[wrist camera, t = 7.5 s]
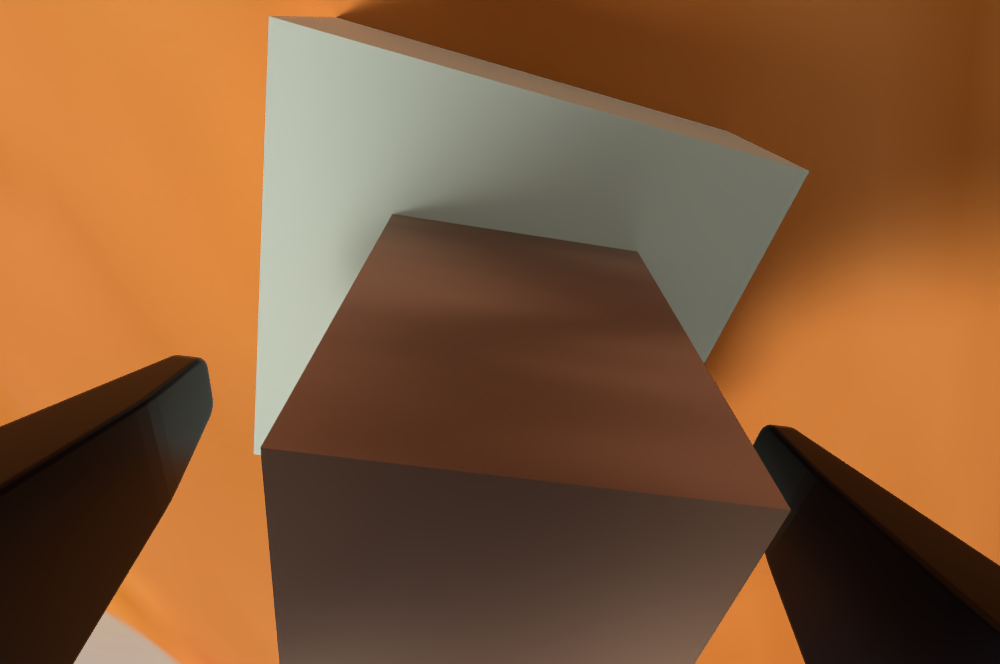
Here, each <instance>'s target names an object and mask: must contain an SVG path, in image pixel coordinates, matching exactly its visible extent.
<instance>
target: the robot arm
mask: <svg viewBox="0 0 1000 664" xmlns="http://www.w3.org/2000/svg"><path fill="white" fill-rule="evenodd" d="M212 408H213V397H212V391H211V385H210V379H209V373H208V367H207V364H206V362H205V361H204V360H203V359H201V358H198V357H190V356H181V355H175V356H171V357H169V358H166V359H164V360H161V361H159V362H157V363H154V364H152V365H149V366H147V367H144V368H142V369H140V370H137V371H135V372H132V373H130V374H127V375H125V376H122V377H120V378H118V379H115V380H113V381H110V382H108V383H105V384H103V385H101V386H98V387H96V388H93V389H91V390H88V391H86V392H84V393H81V394H79V395H76V396H74V397H71V398H69V399H66V400H64V401H62V402H59V403H57V404H54V405H52V406H49V407H47V408H45V409H42V410H40V411H37V412H35V413H32V414H30V415H28V416H25V417H23V418H20V419H18V420H15V421H13V422H11V423H8V424H6V425H3V426H1V427H0V664H73V663H74V662H75V660H76V658H77V657H78V655H79V653H80V652H81V650H82V648H83V647H84V645H85V643H86V642H87V640H88V638H89V637H90V635H91V633H92V632H93V630H94V628H95V627H96V625H97V623H98V622H99V620H100V619H101V617H102V615H103V614H104V612H105V610H106V609H107V607H108V605H109V604H110V602H111V600H112V599H113V597H114V595H115V594H116V592H117V590H118V589H119V587H120V585H121V584H122V582H123V580H124V579H125V577H126V575H127V574H128V572H129V570H130V569H131V567H132V565H133V564H134V562H135V560H136V559H137V557H138V556H139V554H140V552H141V551H142V549H143V547H144V546H145V544H146V542H147V541H148V539H149V537H150V536H151V534H152V532H153V531H154V529H155V527H156V526H157V524H158V522H159V521H160V519H161V517H162V516H163V514H164V512H165V510H166V509H167V507H168V505H169V503H170V502H171V500H172V498H173V496H174V494H175V492H176V490H177V488H178V486H179V483H180V481H181V479H182V477H183V475H184V472H185V470H186V468H187V466H188V464H189V462H190V459H191V457H192V455H193V453H194V451H195V448H196V446H197V444H198V442H199V440H200V437H201V435H202V433H203V431H204V429H205V427H206V424H207V422H208V420H209V418H210V415H211V412H212ZM753 447H754V449H755V450H756V452H757V454H758V455H759V457H760V459H761V460H762V462H763V464H764V465H765V467H766V469H767V470H768V472H769V474H770V475H771V477H772V479H773V481H774V482H775V484H776V486H777V487H778V489H779V491H780V492H781V494H782V496H783V497H784V499H785V501H786V502H787V504H788V506H789V507H790V509H791V511H790V513H789V514H788V516H787V517H786V519H785V521H784V522H783V524H782V525H781V527H780V529H779V530H778V532H777V533H776V535H775V536H774V538H773V540H772V541H771V543H770V544H769V546H768V548H767V549H766V551H765V555H766V558H767V561H768V564H769V567H770V570H771V573H772V576H773V579H774V581H775V584H776V587H777V589H778V592H779V595H780V597H781V600H782V603H783V605H784V608H785V611H786V613H787V616H788V619H789V622H790V624H791V627H792V630H793V632H794V635H795V638H796V640H797V643H798V646H799V648H800V651H801V654H802V656H803V659H804V662H805V664H1000V566H999V565H998V564H996V563H995V562H993V561H992V560H990V559H989V558H987V557H986V556H984V555H983V554H981V553H980V552H978V551H977V550H975V549H974V548H972V547H971V546H969V545H968V544H966V543H965V542H963V541H962V540H960V539H959V538H957V537H956V536H954V535H953V534H951V533H950V532H948V531H947V530H945V529H944V528H942V527H941V526H939V525H938V524H936V523H935V522H933V521H932V520H930V519H929V518H927V517H926V516H924V515H923V514H921V513H920V512H918V511H917V510H915V509H914V508H912V507H911V506H909V505H908V504H906V503H905V502H903V501H902V500H900V499H899V498H897V497H896V496H894V495H893V494H891V493H890V492H888V491H887V490H885V489H884V488H882V487H881V486H879V485H878V484H876V483H875V482H873V481H872V480H870V479H869V478H867V477H866V476H864V475H863V474H861V473H860V472H858V471H857V470H855V469H854V468H852V467H851V466H849V465H848V464H846V463H845V462H843V461H842V460H840V459H839V458H837V457H836V456H834V455H833V454H831V453H830V452H828V451H827V450H825V449H824V448H822V447H821V446H819V445H818V444H816V443H815V442H813V441H812V440H810V439H809V438H807V437H806V436H804V435H803V434H801V433H800V432H798V431H797V430H795V429H794V428H791V427H786V426H777V425H767V426H765V427H764V428H762V430H761V431H760V433H759V435H758V437H757V439H756V441H755V443H754V445H753Z"/></svg>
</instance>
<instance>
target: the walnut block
mask: <svg viewBox="0 0 1000 664" xmlns="http://www.w3.org/2000/svg"><path fill="white" fill-rule="evenodd" d="M260 449H261V460H262V471H263V482H264V494H265V505H266V516H267V527H268V539H269V550H270V561H271V572H272V584H273V595H274V606H275V617H276V629H277V640H278V651H279V662H280V664H695V662H696V660H697V659H698V657H699V656H700V654H701V653H702V651H703V649H704V648H705V646H706V645H707V643H708V641H709V640H710V638H711V637H712V635H713V633H714V632H715V630H716V629H717V627H718V625H719V624H720V622H721V621H722V619H723V618H724V616H725V614H726V613H727V611H728V610H729V608H730V606H731V605H732V603H733V602H734V600H735V598H736V597H737V595H738V594H739V592H740V591H741V589H742V587H743V586H744V584H745V583H746V581H747V579H748V578H749V576H750V575H751V573H752V571H753V570H754V568H755V567H756V565H757V563H758V562H759V560H760V559H761V557H762V556H763V554H764V552H765V551H766V549H767V548H768V546H769V544H770V543H771V541H772V540H773V538H774V536H775V535H776V533H777V532H778V530H779V529H780V527H781V525H782V524H783V522H784V521H785V519H786V517H787V516H788V514H789V513H790V511H791V509H790V507H789V506H788V504H787V502H786V501H785V499H784V497H783V496H782V494H781V492H780V491H779V489H778V487H777V486H776V484H775V482H774V481H773V479H772V477H771V475H770V474H769V472H768V470H767V469H766V467H765V465H764V464H763V462H762V460H761V459H760V457H759V455H758V454H757V452H756V450H755V449H754V447H753V445H752V443H751V442H750V440H749V438H748V437H747V435H746V433H745V432H744V430H743V428H742V427H741V425H740V423H739V422H738V420H737V418H736V417H735V415H734V413H733V411H732V410H731V408H730V406H729V405H728V403H727V401H726V400H725V398H724V396H723V395H722V393H721V391H720V390H719V388H718V386H717V385H716V383H715V381H714V379H713V378H712V376H711V374H710V373H709V371H708V369H707V368H706V366H705V364H704V363H703V361H702V359H701V358H700V356H699V354H698V352H697V351H696V349H695V347H694V346H693V344H692V342H691V341H690V339H689V337H688V336H687V334H686V332H685V331H684V329H683V327H682V326H681V324H680V322H679V320H678V319H677V317H676V315H675V314H674V312H673V310H672V309H671V307H670V305H669V304H668V302H667V300H666V299H665V297H664V295H663V294H662V292H661V290H660V288H659V287H658V285H657V283H656V282H655V280H654V278H653V277H652V275H651V273H650V272H649V270H648V268H647V267H646V265H645V263H644V262H643V260H642V258H641V256H640V255H639V253H638V252H637V251H631V250H624V249H618V248H611V247H605V246H598V245H592V244H585V243H579V242H572V241H566V240H559V239H553V238H546V237H540V236H533V235H527V234H520V233H514V232H507V231H501V230H494V229H488V228H481V227H474V226H468V225H461V224H455V223H448V222H442V221H435V220H429V219H422V218H416V217H409V216H403V215H396V214H392V215H391V217H390V219H389V221H388V222H387V224H386V226H385V228H384V230H383V231H382V233H381V235H380V237H379V238H378V240H377V242H376V244H375V245H374V247H373V249H372V251H371V253H370V254H369V256H368V258H367V260H366V261H365V263H364V265H363V267H362V269H361V270H360V272H359V274H358V276H357V277H356V279H355V281H354V283H353V284H352V286H351V288H350V290H349V292H348V293H347V295H346V297H345V299H344V300H343V302H342V304H341V306H340V307H339V309H338V311H337V313H336V315H335V316H334V318H333V320H332V322H331V323H330V325H329V327H328V329H327V331H326V332H325V334H324V336H323V338H322V339H321V341H320V343H319V345H318V346H317V348H316V350H315V352H314V354H313V355H312V357H311V359H310V361H309V362H308V364H307V366H306V368H305V370H304V371H303V373H302V375H301V377H300V378H299V380H298V382H297V384H296V385H295V387H294V389H293V391H292V393H291V394H290V396H289V398H288V400H287V401H286V403H285V405H284V407H283V408H282V410H281V412H280V414H279V416H278V417H277V419H276V421H275V423H274V424H273V426H272V428H271V430H270V432H269V433H268V435H267V437H266V439H265V440H264V442H263V444H262V446H261V447H260Z"/></svg>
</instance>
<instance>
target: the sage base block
mask: <svg viewBox="0 0 1000 664" xmlns="http://www.w3.org/2000/svg"><path fill="white" fill-rule="evenodd" d="M808 173H809V170H807V169H805V168H802V167H800V166H798V165H796V164H794V163H792V162H790V161H788V160H786V159H784V158H782V157H780V156H778V155H776V154H774V153H772V152H770V151H768V150H765V149H763V148H761V147H759V146H757V145H755V144H753V143H751V142H749V141H747V140H745V139H743V138H741V137H739V136H737V135H735V134H733V133H731V132H728V131H726V130H722V129H719V128H715V127H712V126H709V125H705V124H702V123H698V122H695V121H691V120H688V119H685V118H681V117H678V116H674V115H671V114H667V113H664V112H660V111H657V110H654V109H650V108H647V107H643V106H640V105H636V104H633V103H630V102H626V101H623V100H619V99H616V98H612V97H609V96H605V95H602V94H599V93H595V92H592V91H588V90H585V89H581V88H578V87H574V86H571V85H568V84H564V83H561V82H557V81H554V80H550V79H547V78H544V77H540V76H537V75H533V74H530V73H526V72H523V71H519V70H516V69H513V68H509V67H506V66H502V65H499V64H495V63H492V62H489V61H485V60H482V59H478V58H475V57H471V56H468V55H464V54H461V53H458V52H454V51H451V50H447V49H444V48H440V47H437V46H433V45H430V44H427V43H423V42H420V41H416V40H413V39H409V38H406V37H403V36H399V35H396V34H392V33H389V32H385V31H382V30H378V29H375V28H372V27H368V26H365V25H361V24H358V23H354V22H351V21H348V20H344V19H341V18H337V17H288V16H269V29H268V58H267V87H266V115H265V144H264V173H263V202H262V230H261V259H260V288H259V317H258V346H257V374H256V403H255V432H254V454H257V455H261V449H260V447H261V446H262V444H263V442H264V440H265V439H266V437H267V435H268V433H269V432H270V430H271V428H272V426H273V424H274V423H275V421H276V419H277V417H278V416H279V414H280V412H281V410H282V408H283V407H284V405H285V403H286V401H287V400H288V398H289V396H290V394H291V393H292V391H293V389H294V387H295V385H296V384H297V382H298V380H299V378H300V377H301V375H302V373H303V371H304V370H305V368H306V366H307V364H308V362H309V361H310V359H311V357H312V355H313V354H314V352H315V350H316V348H317V346H318V345H319V343H320V341H321V339H322V338H323V336H324V334H325V332H326V331H327V329H328V327H329V325H330V323H331V322H332V320H333V318H334V316H335V315H336V313H337V311H338V309H339V307H340V306H341V304H342V302H343V300H344V299H345V297H346V295H347V293H348V292H349V290H350V288H351V286H352V284H353V283H354V281H355V279H356V277H357V276H358V274H359V272H360V270H361V269H362V267H363V265H364V263H365V261H366V260H367V258H368V256H369V254H370V253H371V251H372V249H373V247H374V245H375V244H376V242H377V240H378V238H379V237H380V235H381V233H382V231H383V230H384V228H385V226H386V224H387V222H388V221H389V219H390V217H391V215H392V214H396V215H403V216H409V217H416V218H422V219H429V220H435V221H442V222H448V223H455V224H461V225H468V226H474V227H481V228H488V229H494V230H501V231H507V232H514V233H520V234H527V235H533V236H540V237H546V238H553V239H559V240H566V241H572V242H579V243H585V244H592V245H598V246H605V247H611V248H618V249H624V250H631V251H637V252H638V253H639V255H640V256H641V258H642V260H643V262H644V263H645V265H646V267H647V268H648V270H649V272H650V273H651V275H652V277H653V278H654V280H655V282H656V283H657V285H658V287H659V288H660V290H661V292H662V294H663V295H664V297H665V299H666V300H667V302H668V304H669V305H670V307H671V309H672V310H673V312H674V314H675V315H676V317H677V319H678V320H679V322H680V324H681V326H682V327H683V329H684V331H685V332H686V334H687V336H688V337H689V339H690V341H691V342H692V344H693V346H694V347H695V349H696V351H697V352H698V354H699V356H700V358H701V359H702V361H703V363H705V361H706V360H707V358H708V356H709V354H710V352H711V350H712V349H713V347H714V345H715V343H716V341H717V339H718V338H719V336H720V334H721V332H722V330H723V328H724V327H725V325H726V323H727V321H728V319H729V317H730V316H731V314H732V312H733V310H734V308H735V307H736V305H737V303H738V301H739V299H740V297H741V296H742V294H743V292H744V290H745V288H746V286H747V285H748V283H749V281H750V279H751V277H752V275H753V274H754V272H755V270H756V268H757V266H758V264H759V263H760V261H761V259H762V257H763V255H764V253H765V252H766V250H767V248H768V246H769V244H770V242H771V241H772V239H773V237H774V235H775V233H776V231H777V230H778V228H779V226H780V224H781V222H782V221H783V219H784V217H785V215H786V213H787V211H788V210H789V208H790V206H791V204H792V202H793V200H794V199H795V197H796V195H797V193H798V191H799V189H800V188H801V186H802V184H803V182H804V180H805V178H806V177H807V175H808Z"/></svg>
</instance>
